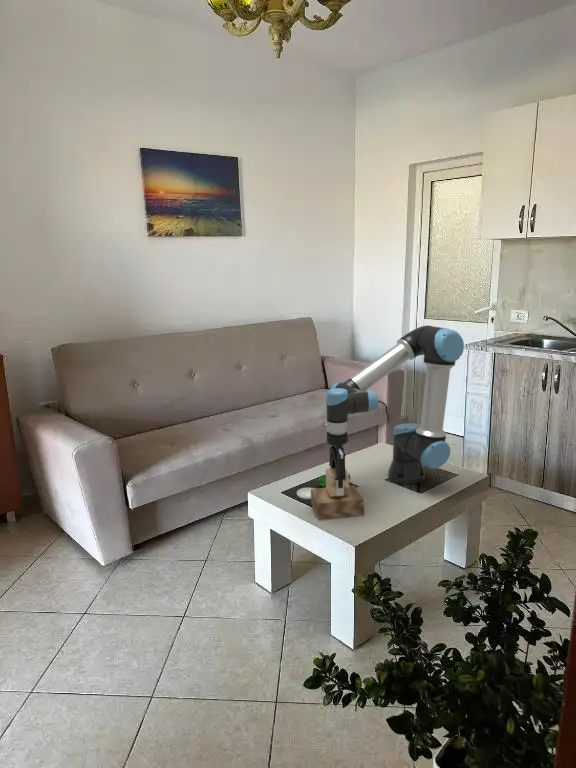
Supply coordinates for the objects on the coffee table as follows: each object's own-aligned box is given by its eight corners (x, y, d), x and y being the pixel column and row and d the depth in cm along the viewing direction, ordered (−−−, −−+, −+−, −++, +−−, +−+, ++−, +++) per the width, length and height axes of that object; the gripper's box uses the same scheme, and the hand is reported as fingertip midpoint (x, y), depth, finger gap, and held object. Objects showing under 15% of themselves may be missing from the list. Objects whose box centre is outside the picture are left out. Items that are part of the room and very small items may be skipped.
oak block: (344, 486, 199) (344, 467, 197) (349, 494, 192) (349, 474, 190) (326, 488, 198) (325, 468, 196) (330, 496, 191) (330, 476, 189)
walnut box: (354, 499, 204) (354, 484, 203) (364, 515, 192) (364, 499, 190) (311, 503, 202) (310, 488, 200) (318, 519, 189) (318, 503, 188)
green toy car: (314, 488, 216) (313, 476, 214) (341, 477, 225) (341, 466, 224) (326, 493, 210) (325, 481, 209) (353, 482, 220) (353, 471, 219)
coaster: (316, 488, 215) (316, 486, 215) (321, 498, 206) (321, 496, 206) (295, 490, 213) (294, 488, 213) (298, 500, 205) (298, 498, 205)
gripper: (320, 424, 199) (321, 480, 204) (333, 441, 179) (333, 503, 185) (340, 422, 200) (340, 479, 205) (355, 440, 180) (354, 501, 186)
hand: (337, 490), depth 195 cm, fingers closed on oak block, 7 cm apart
